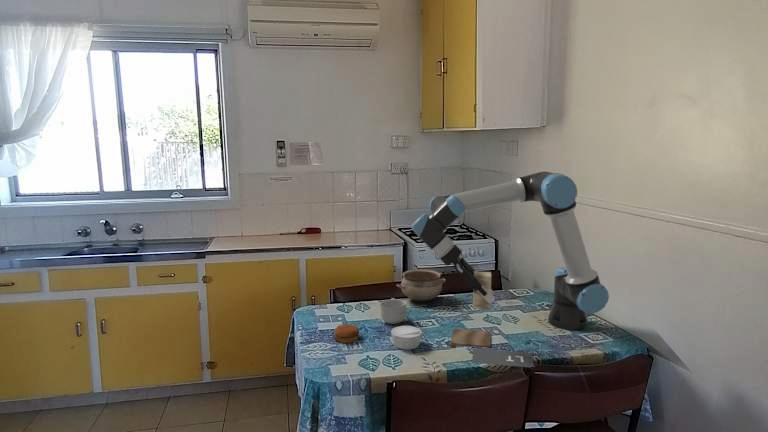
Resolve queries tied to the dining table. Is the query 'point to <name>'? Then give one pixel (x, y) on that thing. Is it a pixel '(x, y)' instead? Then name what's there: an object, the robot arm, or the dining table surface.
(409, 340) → the ramekin
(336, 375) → the dining table surface
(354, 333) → the burger
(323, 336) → the dining table surface
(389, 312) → the teacup
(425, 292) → the cooking pot
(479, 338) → the walnut board
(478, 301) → the maple block
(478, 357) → the mat
